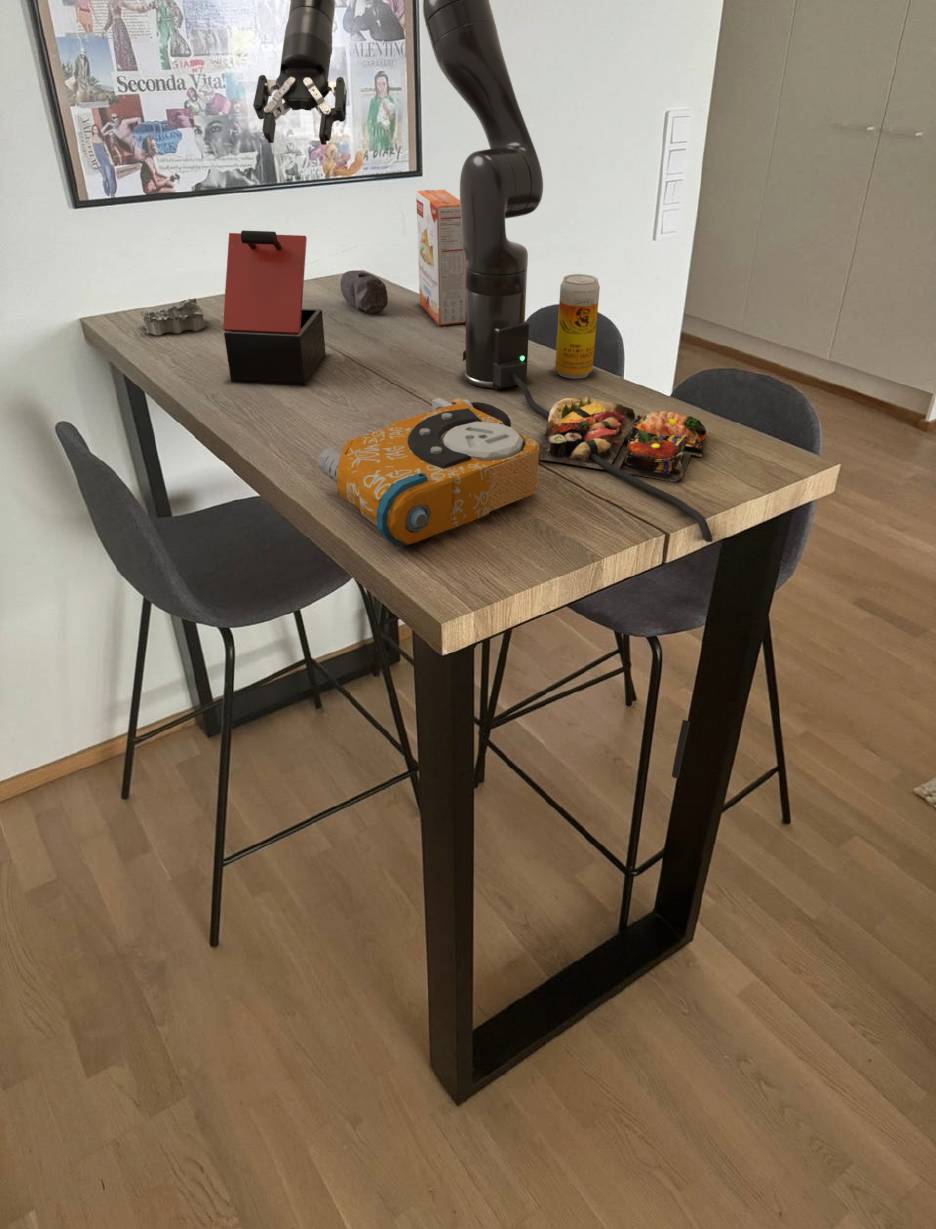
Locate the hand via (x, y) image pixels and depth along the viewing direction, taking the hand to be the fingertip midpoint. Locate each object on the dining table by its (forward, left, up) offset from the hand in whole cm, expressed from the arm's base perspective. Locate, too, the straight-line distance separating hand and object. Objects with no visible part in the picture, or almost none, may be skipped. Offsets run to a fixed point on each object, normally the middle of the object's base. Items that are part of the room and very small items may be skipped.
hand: (295, 140), depth 140 cm
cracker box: (-1, -28, -32) cm, 42 cm away
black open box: (-8, +11, -32) cm, 35 cm away
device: (-58, +16, -32) cm, 68 cm away
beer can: (-39, -26, -32) cm, 57 cm away
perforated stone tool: (+12, -18, -32) cm, 38 cm away
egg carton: (+22, +16, -32) cm, 42 cm away
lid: (-10, +13, -18) cm, 24 cm away
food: (-63, -12, -32) cm, 72 cm away
